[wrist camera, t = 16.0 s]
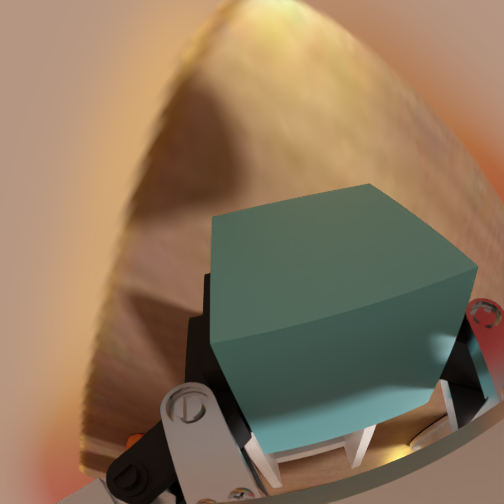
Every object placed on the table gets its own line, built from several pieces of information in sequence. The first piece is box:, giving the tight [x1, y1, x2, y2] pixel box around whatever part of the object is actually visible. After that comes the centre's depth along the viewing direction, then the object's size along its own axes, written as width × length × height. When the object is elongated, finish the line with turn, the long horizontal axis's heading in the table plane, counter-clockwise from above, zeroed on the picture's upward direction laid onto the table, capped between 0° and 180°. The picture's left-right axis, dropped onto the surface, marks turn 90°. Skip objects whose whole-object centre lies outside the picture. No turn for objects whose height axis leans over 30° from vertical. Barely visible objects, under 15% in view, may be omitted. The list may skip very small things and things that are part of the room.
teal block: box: [210, 184, 478, 454], centre depth 8 cm, size 5×5×5 cm
